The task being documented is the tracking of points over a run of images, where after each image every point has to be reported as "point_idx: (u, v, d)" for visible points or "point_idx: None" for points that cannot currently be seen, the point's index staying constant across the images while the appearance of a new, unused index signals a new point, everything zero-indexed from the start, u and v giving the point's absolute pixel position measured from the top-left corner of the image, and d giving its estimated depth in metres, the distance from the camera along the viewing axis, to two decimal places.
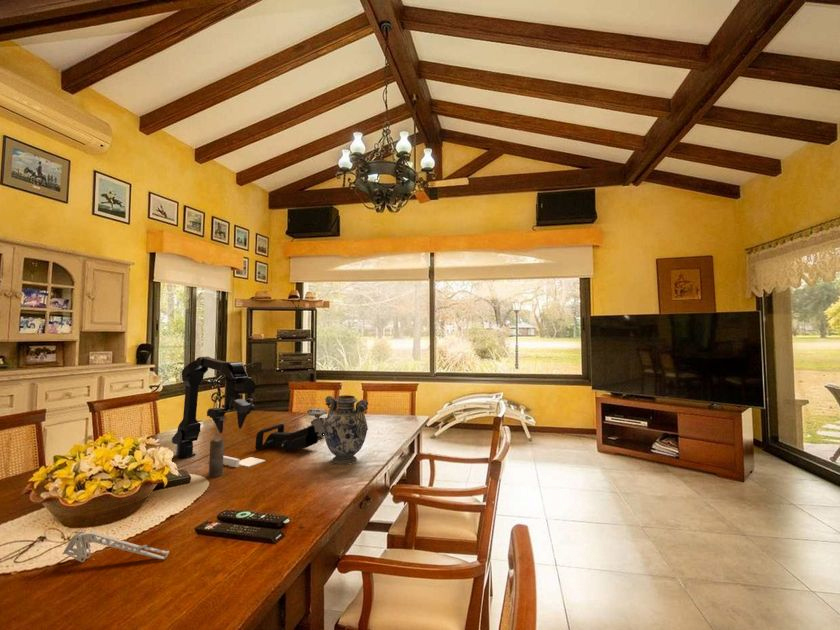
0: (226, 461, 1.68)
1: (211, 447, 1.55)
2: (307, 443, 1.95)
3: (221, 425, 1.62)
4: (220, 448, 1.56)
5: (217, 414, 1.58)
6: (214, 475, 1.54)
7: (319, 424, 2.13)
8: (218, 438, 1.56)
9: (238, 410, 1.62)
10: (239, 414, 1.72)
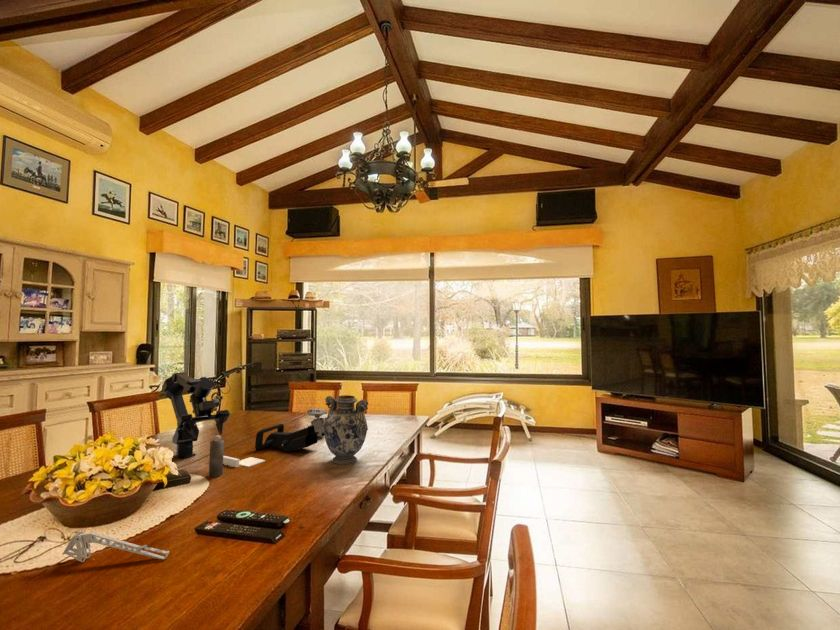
0: (226, 461, 1.68)
1: (211, 447, 1.55)
2: (307, 443, 1.95)
3: (193, 429, 1.60)
4: (220, 448, 1.56)
5: (182, 417, 1.59)
6: (214, 475, 1.54)
7: (319, 424, 2.13)
8: (218, 438, 1.56)
9: (202, 407, 1.62)
10: (217, 424, 1.70)
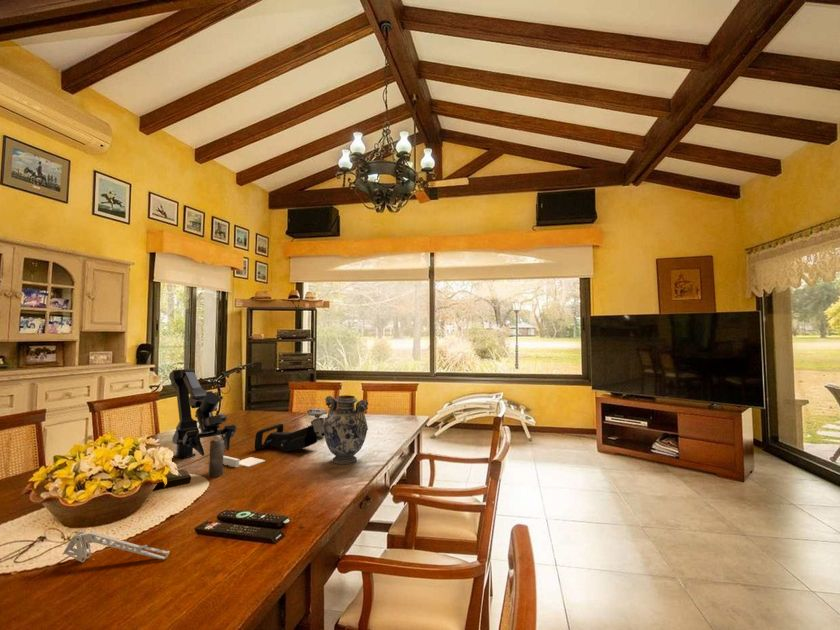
0: (226, 461, 1.68)
1: (211, 447, 1.55)
2: (306, 443, 1.95)
3: (200, 446, 1.55)
4: (220, 448, 1.56)
5: (188, 433, 1.54)
6: (214, 475, 1.54)
7: (319, 424, 2.13)
8: (218, 438, 1.56)
9: (209, 423, 1.57)
10: (224, 439, 1.64)
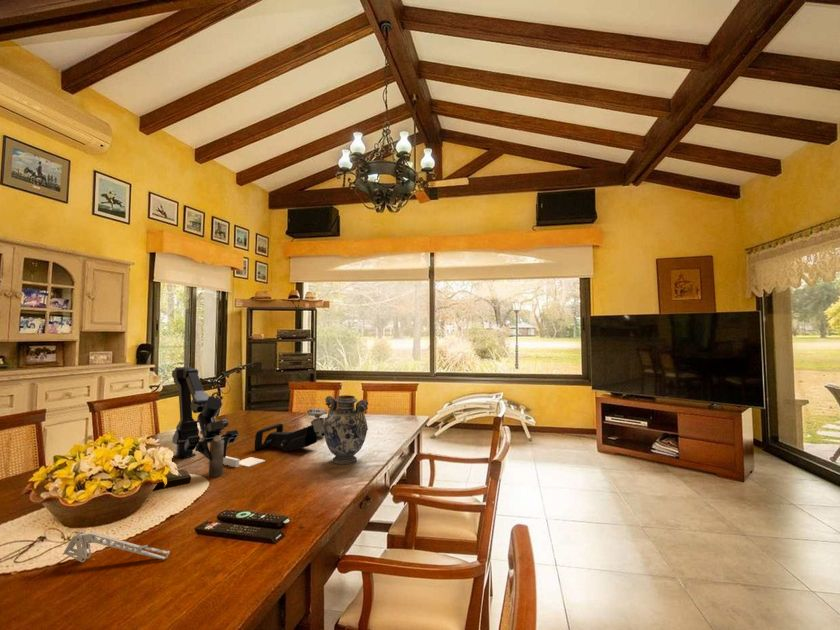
0: (226, 461, 1.68)
1: (211, 447, 1.55)
2: (306, 443, 1.96)
3: (207, 451, 1.55)
4: (220, 448, 1.56)
5: (190, 439, 1.52)
6: (214, 475, 1.54)
7: (319, 424, 2.13)
8: (218, 438, 1.56)
9: (211, 428, 1.56)
10: None
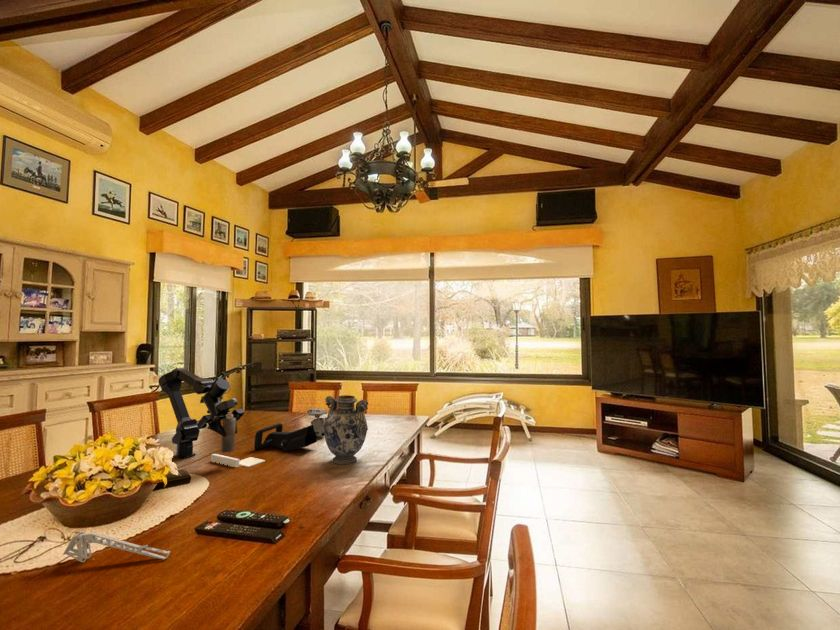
0: (226, 461, 1.68)
1: (225, 424, 1.64)
2: (306, 442, 1.96)
3: (221, 428, 1.64)
4: (234, 425, 1.66)
5: (206, 417, 1.60)
6: (228, 450, 1.64)
7: (319, 424, 2.13)
8: (231, 416, 1.66)
9: (224, 407, 1.65)
10: None
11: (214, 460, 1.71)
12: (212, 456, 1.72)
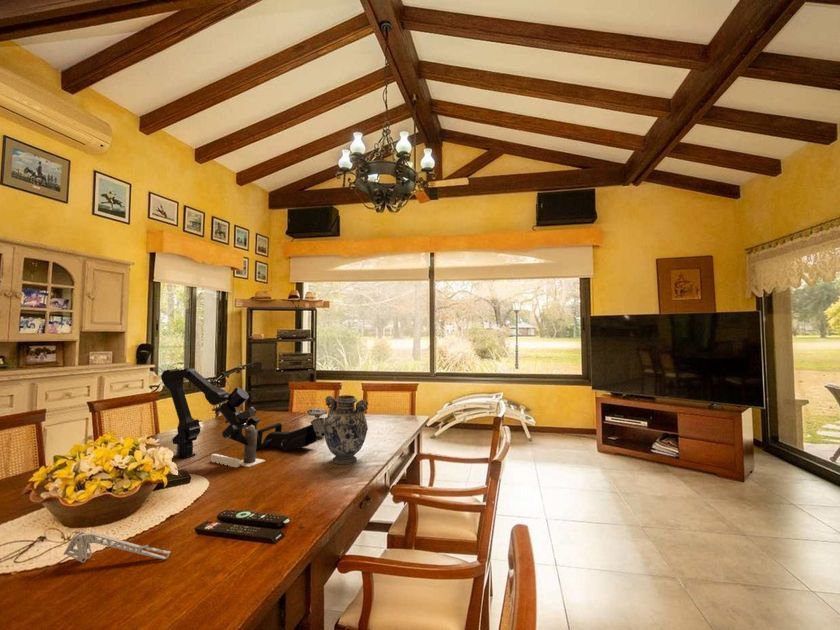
0: (226, 461, 1.68)
1: (249, 436, 1.71)
2: (306, 442, 1.97)
3: (243, 437, 1.68)
4: (256, 437, 1.73)
5: (232, 427, 1.65)
6: (251, 461, 1.71)
7: (319, 424, 2.13)
8: (254, 427, 1.73)
9: (247, 416, 1.71)
10: None
11: (214, 460, 1.71)
12: (212, 456, 1.72)
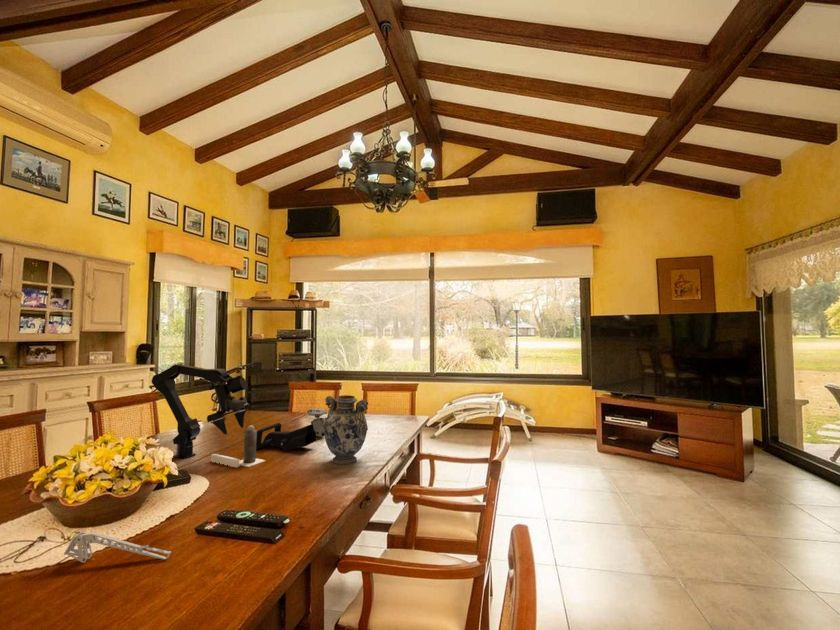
0: (226, 461, 1.68)
1: (248, 436, 1.71)
2: (305, 442, 1.98)
3: (224, 426, 1.73)
4: (256, 436, 1.73)
5: (217, 416, 1.69)
6: (251, 461, 1.71)
7: (319, 424, 2.13)
8: (253, 427, 1.73)
9: (235, 408, 1.74)
10: (237, 415, 1.83)
11: (214, 460, 1.71)
12: (212, 456, 1.72)
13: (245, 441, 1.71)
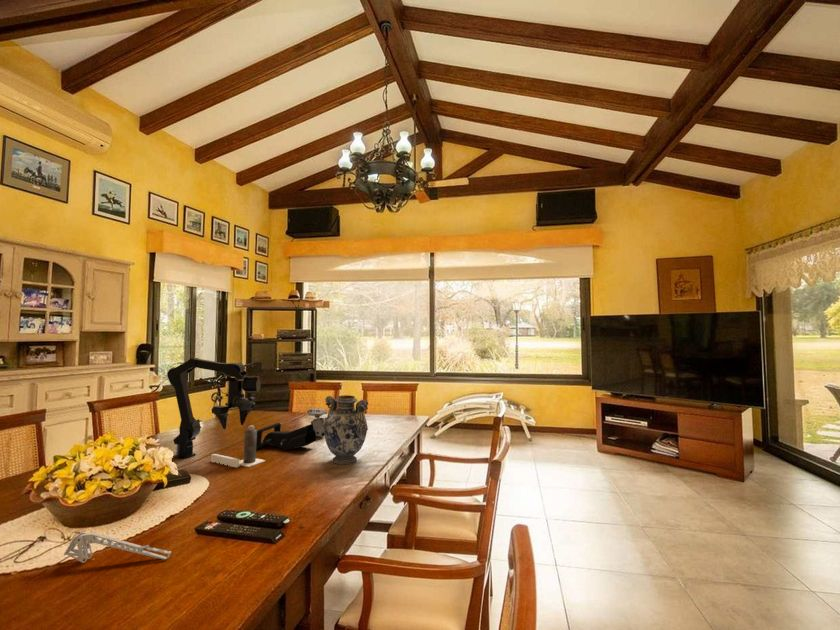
0: (226, 461, 1.68)
1: (248, 436, 1.71)
2: (305, 441, 1.98)
3: (225, 422, 1.75)
4: (256, 436, 1.73)
5: (221, 411, 1.71)
6: (251, 461, 1.71)
7: (319, 424, 2.13)
8: (253, 427, 1.73)
9: (240, 408, 1.76)
10: (241, 412, 1.86)
11: (214, 460, 1.71)
12: (212, 456, 1.72)
13: (245, 441, 1.71)
